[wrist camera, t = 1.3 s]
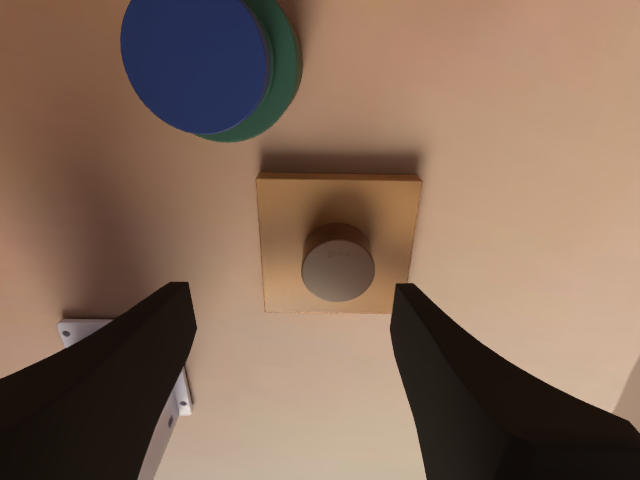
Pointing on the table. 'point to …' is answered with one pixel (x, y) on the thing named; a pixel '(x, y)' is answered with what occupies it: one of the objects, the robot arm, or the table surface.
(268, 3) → the bottle
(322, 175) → the coaster
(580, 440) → the robot arm
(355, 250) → the cylinder
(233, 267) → the table surface
